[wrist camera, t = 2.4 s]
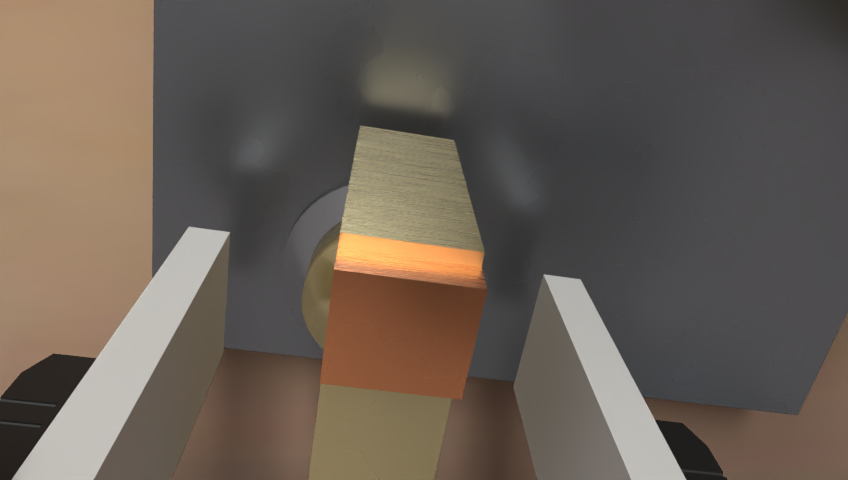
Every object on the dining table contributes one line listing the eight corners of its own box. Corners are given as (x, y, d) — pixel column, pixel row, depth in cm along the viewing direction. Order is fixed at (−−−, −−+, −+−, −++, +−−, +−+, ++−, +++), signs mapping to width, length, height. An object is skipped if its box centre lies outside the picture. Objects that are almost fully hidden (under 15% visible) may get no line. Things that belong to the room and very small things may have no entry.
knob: (427, 413, 17) (443, 669, 11) (294, 398, 16) (239, 654, 10) (485, 135, 14) (549, 281, 8) (326, 110, 13) (273, 245, 8)
